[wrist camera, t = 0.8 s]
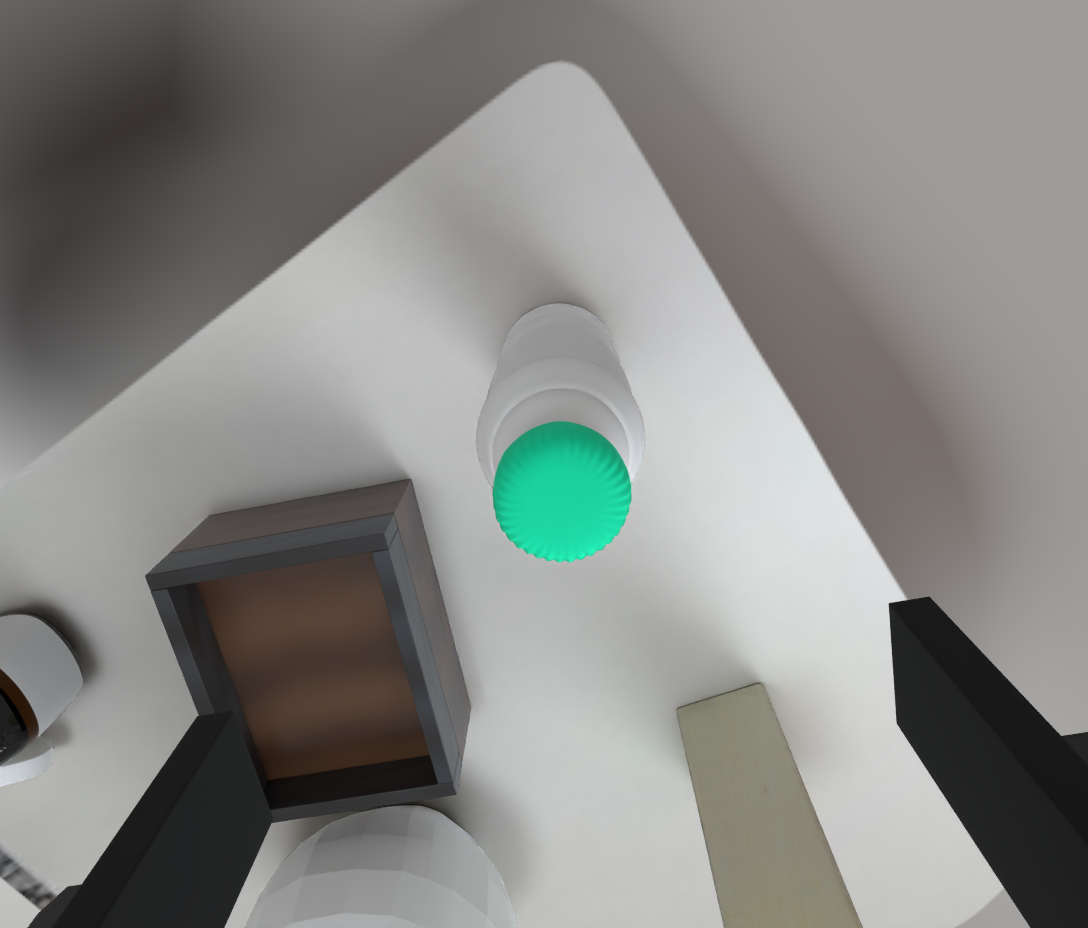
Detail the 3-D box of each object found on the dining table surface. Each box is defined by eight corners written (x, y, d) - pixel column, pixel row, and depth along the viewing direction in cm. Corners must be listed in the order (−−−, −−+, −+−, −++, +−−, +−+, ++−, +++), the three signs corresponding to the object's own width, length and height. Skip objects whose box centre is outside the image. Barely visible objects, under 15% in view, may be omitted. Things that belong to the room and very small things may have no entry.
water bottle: (575, 433, 52) (593, 635, 28) (481, 376, 51) (416, 537, 27) (637, 340, 50) (712, 474, 26) (540, 279, 49) (526, 360, 25)
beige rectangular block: (663, 709, 58) (719, 976, 38) (761, 678, 57) (871, 936, 37) (696, 793, 61) (765, 1086, 41) (791, 765, 60) (909, 1051, 40)
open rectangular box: (208, 515, 54) (144, 575, 45) (411, 478, 53) (383, 533, 44) (286, 737, 59) (242, 827, 51) (471, 707, 58) (457, 795, 50)
